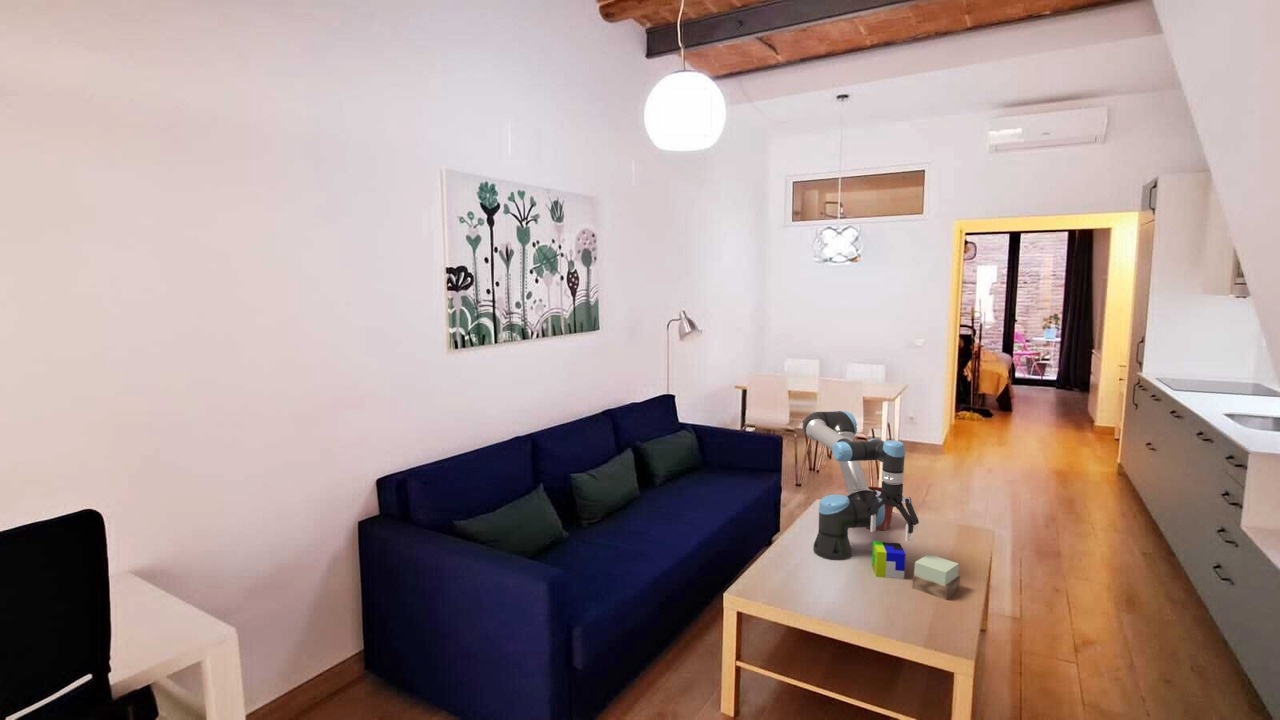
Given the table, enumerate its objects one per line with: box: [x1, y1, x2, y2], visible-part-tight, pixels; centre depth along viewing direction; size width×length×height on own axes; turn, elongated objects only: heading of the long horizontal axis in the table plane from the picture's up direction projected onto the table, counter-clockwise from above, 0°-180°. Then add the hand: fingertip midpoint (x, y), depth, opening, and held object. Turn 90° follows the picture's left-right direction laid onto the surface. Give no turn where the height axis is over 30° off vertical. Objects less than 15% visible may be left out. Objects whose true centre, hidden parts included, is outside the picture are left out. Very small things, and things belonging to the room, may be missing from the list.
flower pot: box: [865, 486, 894, 532], centre depth 289 cm, size 16×16×16 cm
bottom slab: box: [912, 575, 961, 601], centre depth 230 cm, size 12×12×5 cm
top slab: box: [913, 553, 960, 586], centre depth 230 cm, size 11×11×5 cm
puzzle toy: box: [871, 540, 906, 580], centre depth 243 cm, size 10×10×10 cm
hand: (889, 536), depth 241 cm, fingers open, 13 cm apart
